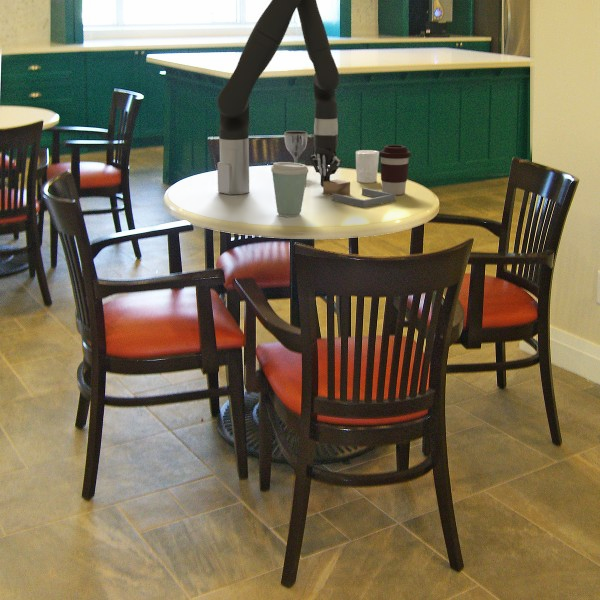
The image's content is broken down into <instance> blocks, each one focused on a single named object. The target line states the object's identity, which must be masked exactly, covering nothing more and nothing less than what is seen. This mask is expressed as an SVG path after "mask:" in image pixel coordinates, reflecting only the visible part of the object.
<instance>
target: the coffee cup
mask: <svg viewBox="0 0 600 600" xmlns="http://www.w3.org/2000/svg"><path fill="white" fill-rule="evenodd" d="M378 152H379V158H380V180H381V191H382V192H386V193H391V194H396V196H403V195H404V194H406V187H407V181H408V174H409V165H410V164H409V159H410V158H411V155H412V153H411V151H410V150H408V149H407V146H406V145H401V144H389V145H384V147H383V149H381V150H379V151H378Z"/></svg>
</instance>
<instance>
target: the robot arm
mask: <svg viewBox="0 0 600 600" xmlns="http://www.w3.org/2000/svg"><path fill="white" fill-rule="evenodd" d="M296 10H297V13H298V16H299V23H300V26H301V31H302V36H303V37H302V38H303V39H304V40H303V41H304V44H305V47H306V52H307V55H308V58H309V60H310V61H311V63H312V65H313V69H314V75H313V80H312V81H313V83H312V84H313V93H314V101H315V103H314V124H313V147H314V148H315V150H314V154H313V155H310V156H309V160H310V161H311V162H310V163H311V165H312V166H313V168H314V170H315V172H316V173H319V175H320V186H321V187H322V188H323V182H325V181H330V180H331V175H334V174H336V172H337V171H338V170H339V168H340V166H341V164H342V163H343V161H342V159H339V158H338V157H337V151H336V150H337V149H338V147H339V146H338V145H339V144H338V139H339V138H338V137H339V135H338V134H339V123H338V103H337V100H336V91H335V90H336V89H337V88H338V87H339V85H340V79H341V77H340V73H339V70H338V67H337V64H336V62H335V59H334V57H333V55H332V51H331V46H330V42H329V38H328V34H327V31H326V27H325V25H324V22H323V19H322V15H321V13H320V10H319V7H318V3H317V0H271V1H270V2H269V4H268V6H267V7H266V8H265V10H264V11H263V12H262V13H261V16H260V17H259V19H258V20H257V21H256V23H255V25H254V26H253V28H252V30H251V33H250V35H249V37H248V38H247V41H246V43H245V45H244V48H243V49H242V52H241V55H240V57H239V60H238V62H237V65H236V67H235V69H234V71H233V73H232V74H231V76H230V78H229V79H228V81H227V82H226V84H225V85H224V87H223V88H222V89H221V90H220V92H219V94H218V95H217V100H216V105H217V109H218V110H219V118H220V119H219V131H218V135H219V139H218V141H219V161H218V162H217V163H216V165H217V192H218V193H222V194H225V195H229V196H231V195H241V194H242V195H243V194H248V193H249V192H250V149H249V147H250V145H249V144H250V140H249V138H250V137H249V133H250V132H249V130H250V99H249V98H250V96H251V94H252V91H253V89H254V87H255V85H256V83H257V82H258V79H259V78H260V77H261V75H263V73H264V71H265V70H266V68H268V65H269V64H270V62H271V61H272V59H273V58H274V56H275V54H276V53H277V51H278V49H279V48H280V45H281V43H282V42H283V39H284V37H285V35H286V33H287V30H288V29H289V25H290V23H291V20H292V19H293V18H292V17H293V16H294V13H295V12H296Z"/></svg>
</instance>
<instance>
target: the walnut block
mask: <svg viewBox="0 0 600 600" xmlns="http://www.w3.org/2000/svg"><path fill="white" fill-rule="evenodd" d="M322 189H323V190H322V194H323V195H327V196H332V194H334V193H335V194H340V195H344V196H348V195H350V194H351V182H350V181H346V180H341V179H330V181H325V182H323V187H322Z"/></svg>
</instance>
